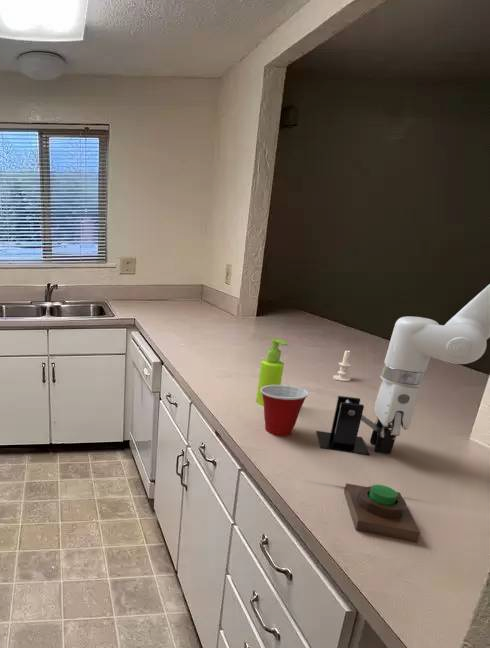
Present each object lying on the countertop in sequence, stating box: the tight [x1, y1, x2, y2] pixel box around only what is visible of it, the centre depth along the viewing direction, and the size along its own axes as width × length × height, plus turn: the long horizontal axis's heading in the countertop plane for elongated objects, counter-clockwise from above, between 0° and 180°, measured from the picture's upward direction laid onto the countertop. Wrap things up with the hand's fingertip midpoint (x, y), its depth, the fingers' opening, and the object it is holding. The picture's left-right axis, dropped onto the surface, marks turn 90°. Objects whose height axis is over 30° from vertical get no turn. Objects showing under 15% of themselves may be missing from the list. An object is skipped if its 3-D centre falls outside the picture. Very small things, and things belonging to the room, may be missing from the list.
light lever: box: [344, 399, 391, 436], centre depth 99 cm, size 13×3×3 cm
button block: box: [343, 482, 421, 544], centre depth 78 cm, size 12×9×4 cm
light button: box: [369, 484, 398, 505], centre depth 77 cm, size 4×4×2 cm
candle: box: [332, 349, 352, 383], centre depth 145 cm, size 5×5×10 cm
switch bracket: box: [315, 395, 371, 457], centre depth 101 cm, size 10×9×12 cm
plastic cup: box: [260, 384, 309, 437], centre depth 108 cm, size 11×11×12 cm
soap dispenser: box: [255, 337, 289, 407], centre depth 123 cm, size 6×7×20 cm
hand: (379, 447), depth 100 cm, fingers closed on light lever, 3 cm apart
